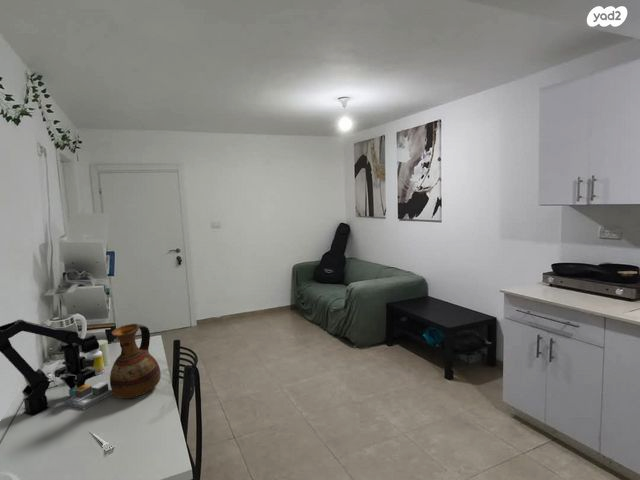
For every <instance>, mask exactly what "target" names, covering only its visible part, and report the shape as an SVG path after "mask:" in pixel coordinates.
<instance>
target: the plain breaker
mask: <svg viewBox="0 0 640 480" xmlns="http://www.w3.org/2000/svg"><path fill="white" fill-rule="evenodd" d="M91 387H92V393H93V395H98V396H99V395H101V394H103V393H105V392H106V391H108V390H110V389H109V383H107V382H104V381H100V382H98V383H97V384H95V385H93V386H92V385H91Z"/></svg>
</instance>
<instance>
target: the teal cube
mask: <svg viewBox="0 0 640 480" xmlns="http://www.w3.org/2000/svg"><path fill="white" fill-rule="evenodd" d="M76 388H77V387H76V386H75V387H73V388H71V389H70V388H69V389H68V394H69V398H72V397H74V396H75V389H76Z"/></svg>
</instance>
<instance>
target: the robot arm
mask: <svg viewBox="0 0 640 480" xmlns="http://www.w3.org/2000/svg"><path fill="white" fill-rule="evenodd" d="M21 332H25V333H30V334H34V335H39V336H44V337H48V338H53V339H55V340H57V341H59V342H62V343H64V345H63V344H60V345H59V346H58V347H57V348H56V351H57V352H59V353H63V359H64V361H62V365H63V366H62V367H60V368H57V369H55V371H54V378H60V380H62V382H63V383H64V384H65V385H67V387H68V388H69V389H71V388H73V387H75V386H76V387H77V388H78V387H81V386H83V385H85V384H86V381H87V380H89V379H91V378H93V377H94V376H97V375H96V374H95V370H92V369H88V367H94V361H95V359H87V357H86V356H81V354H80V353H82V354H84V355H86V354H89V352H91V351H94V350H97V349H99V343H98V341H97V340H98V339H97V337H96V335H95V334H91V335H89V336H86V337H84V338H81V337H80V336H79V333H78V332H77V331H76V330H73V329H71V328H68V327H66V328H65V327H51V326H47V325H44V324H39V323H35V322H30V321H28V320H24V319H22V318H21V319H16V320H14V321H12V322H9V323H5V324H2V325H0V353H1V354H2V355H3V356H4V357H5V358H6V359H7V361H9V363H10V364H11V365H12V366H14V368H15V369H16V370H17V371H18V372H19V373H20V374H21V375H22V376H23V378H24V380H25V383H26V384H27V385H26V386H25V388H23V390H22V391H21V392H22V394H23V395H24V396H25V398H23V402H24V411H22V413H23V414H25V415H29V416H35V415H37V414H40V413H41V412H43V411H45V410H47V409H49V408H50V406H49V405H48V398H47V395H46V392H47V390H48V389H49V387H50V385H51V383H50V381H49V380H50V378H49V377H48V376H47V375H46V374H45V372H44V371H43V370H42V369H40V368H38V369H36V370H35V369H34V368H32V366H31V365H30V364H29V363H28V362H27V361H26V360H25V359H24V358H23V357H22V355H21V354H20V353H19V352H18V351H17V350H16V348H14V347H13V345H12V343H11V340H10V338H13V337H14V336H15V335H18V334H19V333H21Z"/></svg>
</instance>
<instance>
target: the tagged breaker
mask: <svg viewBox="0 0 640 480" xmlns="http://www.w3.org/2000/svg"><path fill="white" fill-rule="evenodd" d="M91 393H92V385H89V384H87V383H85V385H83V386H81V387H78V388H76V389H75V395H76V397H78V398H83V397H85V396H87V395H89V394H91Z"/></svg>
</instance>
